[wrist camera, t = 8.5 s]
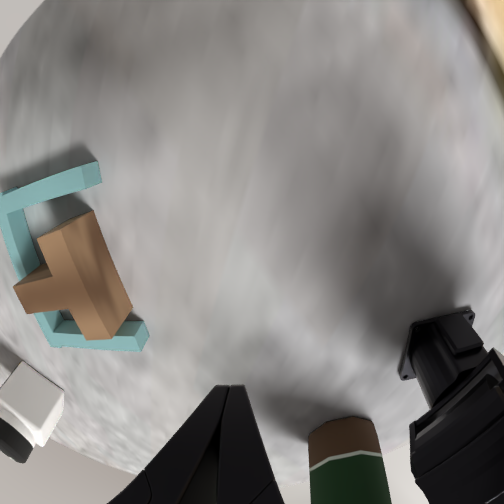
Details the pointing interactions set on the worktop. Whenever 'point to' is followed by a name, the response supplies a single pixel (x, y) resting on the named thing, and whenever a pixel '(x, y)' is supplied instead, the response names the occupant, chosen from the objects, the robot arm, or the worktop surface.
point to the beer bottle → (347, 464)
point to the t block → (77, 279)
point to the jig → (25, 261)
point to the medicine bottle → (27, 411)
